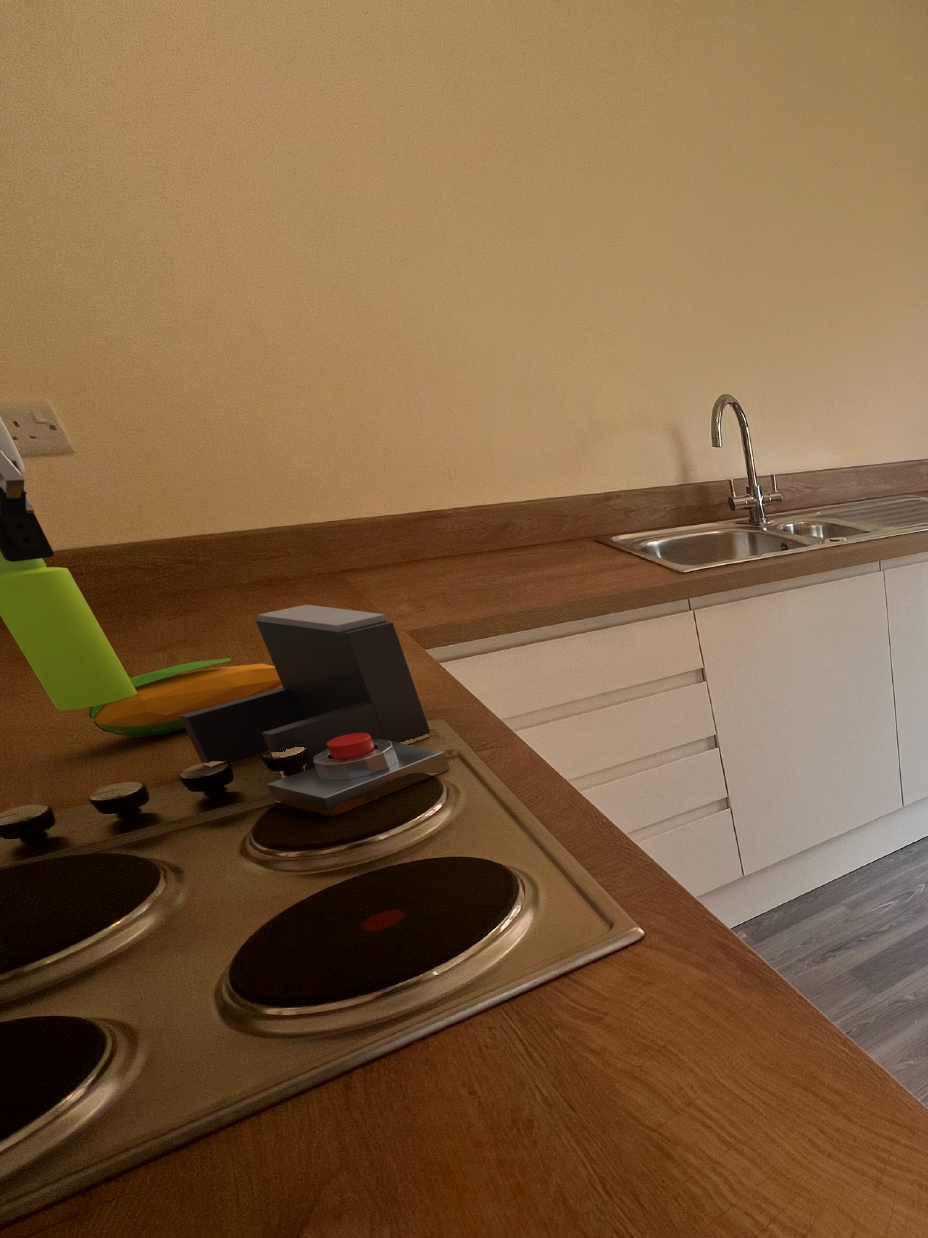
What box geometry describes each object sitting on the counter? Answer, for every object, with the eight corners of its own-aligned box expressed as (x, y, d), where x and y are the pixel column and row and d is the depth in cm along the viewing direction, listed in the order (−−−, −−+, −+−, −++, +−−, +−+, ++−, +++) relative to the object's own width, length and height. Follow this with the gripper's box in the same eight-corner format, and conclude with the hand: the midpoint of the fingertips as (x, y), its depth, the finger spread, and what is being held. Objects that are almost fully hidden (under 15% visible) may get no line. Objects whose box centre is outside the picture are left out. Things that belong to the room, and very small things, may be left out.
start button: (347, 764, 84) (341, 748, 84) (324, 759, 86) (318, 743, 85) (383, 750, 88) (378, 735, 87) (361, 746, 89) (355, 730, 88)
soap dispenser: (67, 714, 82) (-60, 500, 74) (52, 709, 85) (-72, 506, 78) (147, 695, 86) (34, 492, 79) (129, 692, 90) (19, 497, 82)
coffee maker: (293, 787, 88) (234, 651, 82) (203, 765, 93) (141, 636, 87) (433, 736, 101) (391, 614, 94) (346, 719, 106) (301, 603, 100)
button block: (332, 818, 82) (317, 780, 80) (275, 803, 85) (259, 767, 83) (450, 769, 92) (439, 736, 90) (395, 758, 95) (383, 725, 93)
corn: (58, 682, 96) (258, 637, 113) (88, 742, 100) (278, 690, 116) (94, 693, 94) (294, 646, 111) (124, 755, 97) (313, 700, 114)
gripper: (-208, 345, 72) (-86, 559, 80) (-116, 339, 66) (6, 570, 74) (-78, 348, 79) (23, 546, 86) (15, 343, 73) (115, 555, 81)
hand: (14, 555), depth 80 cm, fingers closed on soap dispenser, 5 cm apart
